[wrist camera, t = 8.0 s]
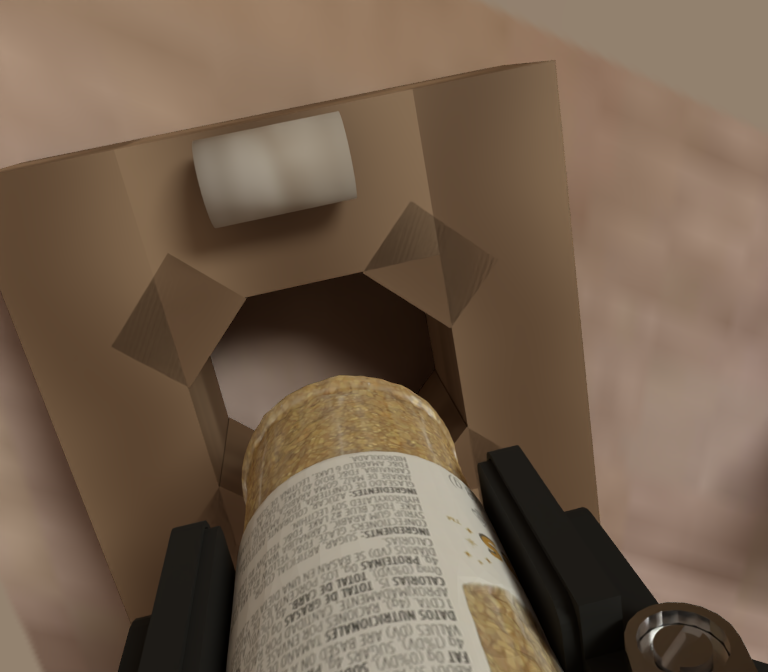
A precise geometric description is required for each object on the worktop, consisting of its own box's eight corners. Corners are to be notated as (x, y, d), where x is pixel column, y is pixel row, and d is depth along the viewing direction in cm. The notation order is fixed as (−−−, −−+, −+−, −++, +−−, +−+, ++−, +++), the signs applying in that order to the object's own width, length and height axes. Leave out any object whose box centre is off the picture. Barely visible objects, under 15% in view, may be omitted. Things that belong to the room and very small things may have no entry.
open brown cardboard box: (502, 65, 20) (588, 56, 14) (554, 497, 24) (634, 614, 19) (21, 162, 19) (-84, 193, 13) (174, 591, 23) (144, 743, 18)
